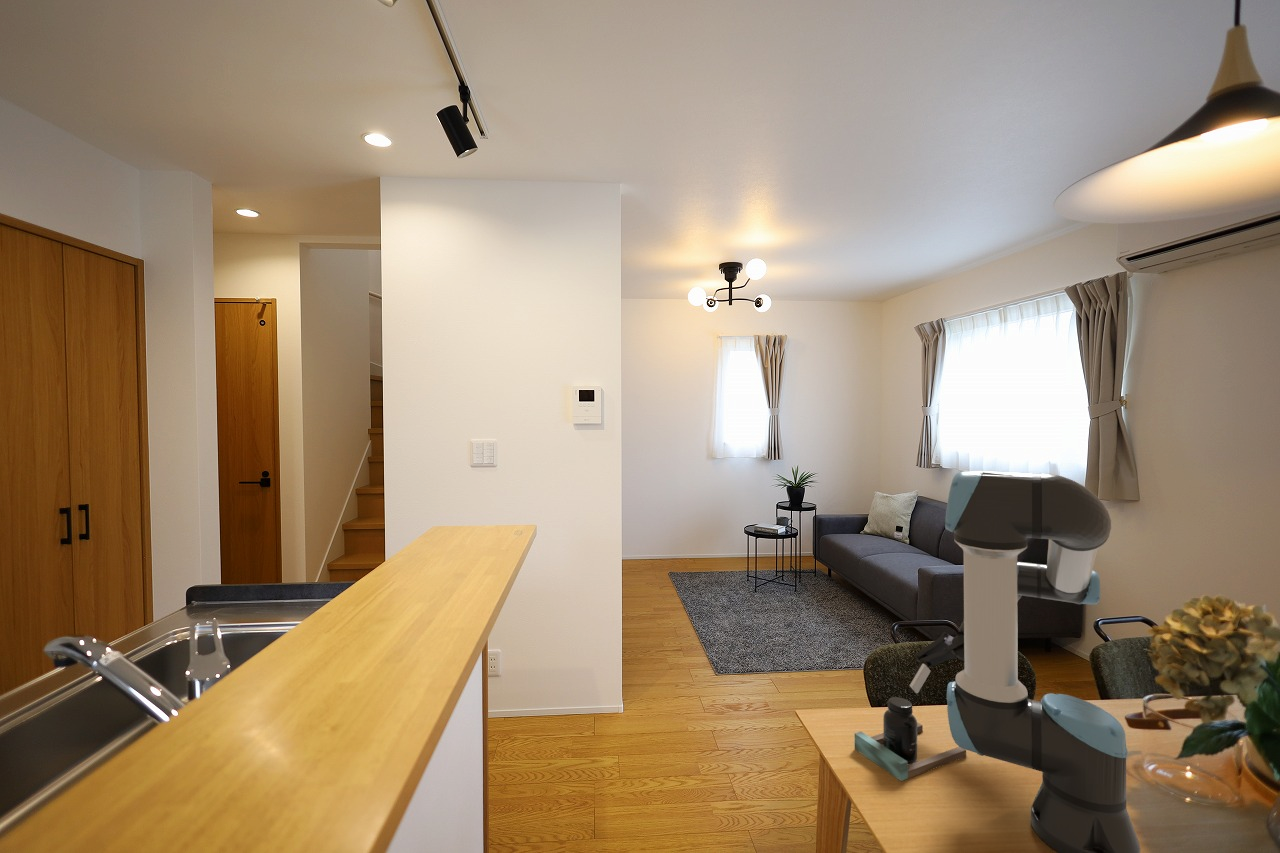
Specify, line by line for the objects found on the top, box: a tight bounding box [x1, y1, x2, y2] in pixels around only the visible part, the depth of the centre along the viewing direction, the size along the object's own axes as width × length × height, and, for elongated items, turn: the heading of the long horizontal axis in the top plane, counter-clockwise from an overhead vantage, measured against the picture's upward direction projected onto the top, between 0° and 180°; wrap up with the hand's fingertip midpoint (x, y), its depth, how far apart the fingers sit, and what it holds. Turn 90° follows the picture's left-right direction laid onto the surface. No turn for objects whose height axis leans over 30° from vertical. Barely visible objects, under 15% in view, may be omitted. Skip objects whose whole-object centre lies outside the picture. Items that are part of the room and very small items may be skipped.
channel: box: [854, 721, 967, 782], centre depth 124 cm, size 12×20×4 cm, turn 114°
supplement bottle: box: [882, 696, 918, 765], centre depth 123 cm, size 7×7×12 cm
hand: (939, 702), depth 128 cm, fingers open, 13 cm apart
